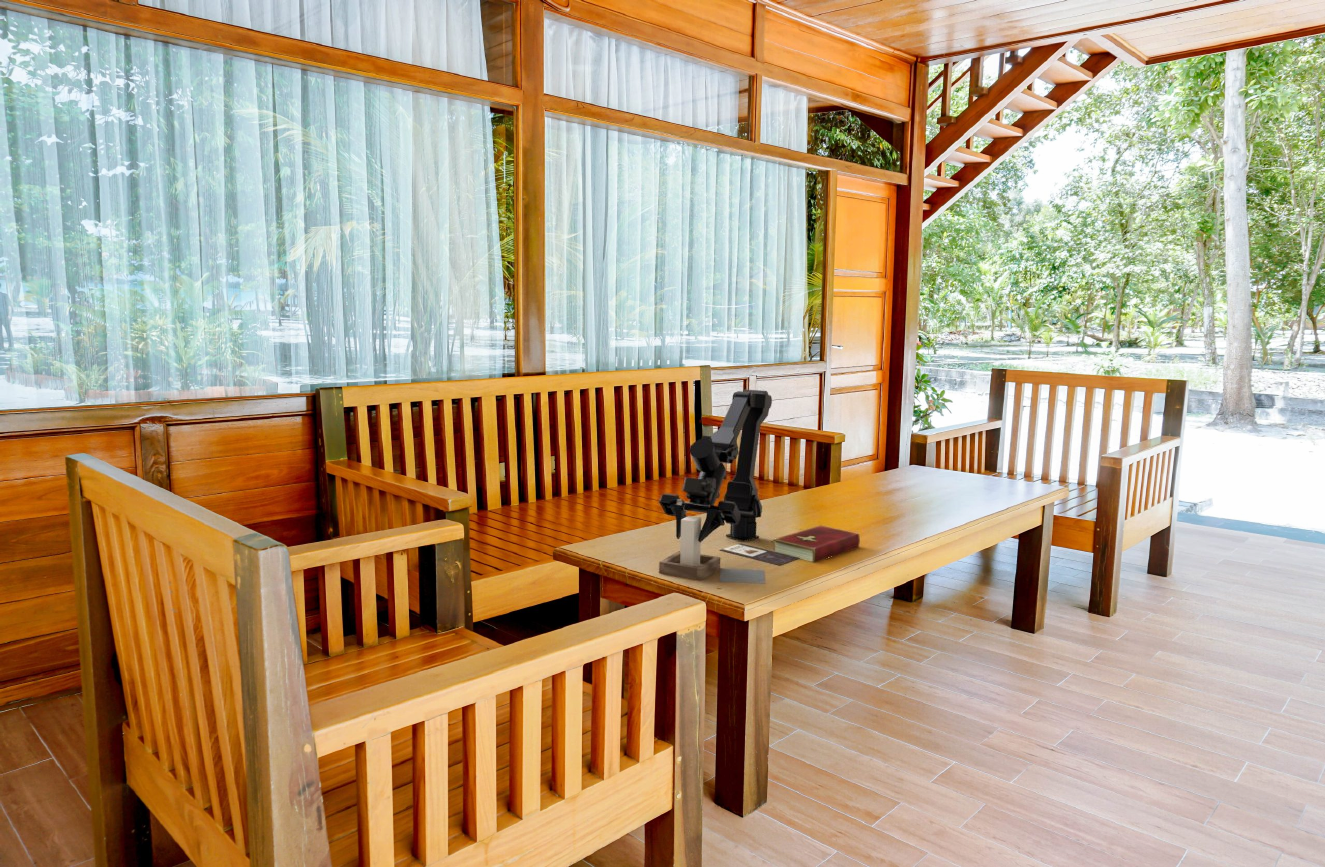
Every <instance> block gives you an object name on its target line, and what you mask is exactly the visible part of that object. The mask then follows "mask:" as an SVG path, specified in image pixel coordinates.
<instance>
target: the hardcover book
mask: <svg viewBox="0 0 1325 867" xmlns="http://www.w3.org/2000/svg"><path fill="white" fill-rule="evenodd" d="M860 538H861V537H860V534H859V533H858V532H853V531H848V530H845V529H844V530H843V529H841V528H840V529H839V528H834V527H830V526H826V525H821V524H820V525H817V526H814V527H810V528H806V529H803V530H799V531H797V532H793V533H790V534H787V535H784V536H780V537H777V538H774V539H773V542H775V546H774V547H775V549H774V551H775V552H778V553H782V554H786V555H790V556H794V557H798V558H800V559H801V560H805V561H808V562H811V563H815V562H818V561H821V560H824V559H825V560H827V559H829V558H828V557H830V558H832V557H831V556H833V557H835V556H837V555H841V554H843V552H844V553H846V551H847V552H849V551H848V550H850V551H852V550H855V549H858V548H859V547H860V543H861V539H860ZM857 547H858V548H857ZM854 548H855V549H854ZM851 549H852V550H851ZM834 555H835V556H834ZM826 558H827V559H826ZM800 559H799V560H800Z"/></svg>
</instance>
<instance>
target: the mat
mask: <svg viewBox="0 0 1325 867" xmlns="http://www.w3.org/2000/svg"><path fill="white" fill-rule="evenodd" d="M765 576H766V575H765V570H764V569H751V568H750V569H749V568H727V567H720V574H719V582H720V583H722V582H723V583H739V584H740V583H744V584H761V585H763V584H764V585H765V584H766V577H765Z"/></svg>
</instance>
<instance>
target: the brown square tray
mask: <svg viewBox="0 0 1325 867" xmlns="http://www.w3.org/2000/svg"><path fill="white" fill-rule="evenodd" d="M700 564H703V565H702V566H700V567H697V566H691V565H685V564H680V550H677V551H676V552H675V553H673V554H670V556H667V557H666V558H664V559H662V560H660V561H659V564H658V573H659V574H663V575H668V576H675V577H681V578H688V579H692V580H699V581H702V580H704V579H706V578H707V577H709V576H711V575H712V574H713V573H714V572H716V571H718V570H720V569H721V557H720V556H714V555H707V554H701V553H700Z"/></svg>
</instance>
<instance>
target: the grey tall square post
mask: <svg viewBox="0 0 1325 867" xmlns="http://www.w3.org/2000/svg"><path fill="white" fill-rule="evenodd" d="M686 516H687V515H686ZM701 529H702V517H700V516H699V517H698V516H692V515H691V516H690V515H688V516H687V517H685V518H683V519H681V537H680V550H679V551H680V564H685V565H691V566H697V567H700V566H702V565H703V564H700V554H701V546H702V545H701V543H702V542H699V541H698V538H699V534H700V532H701Z"/></svg>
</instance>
